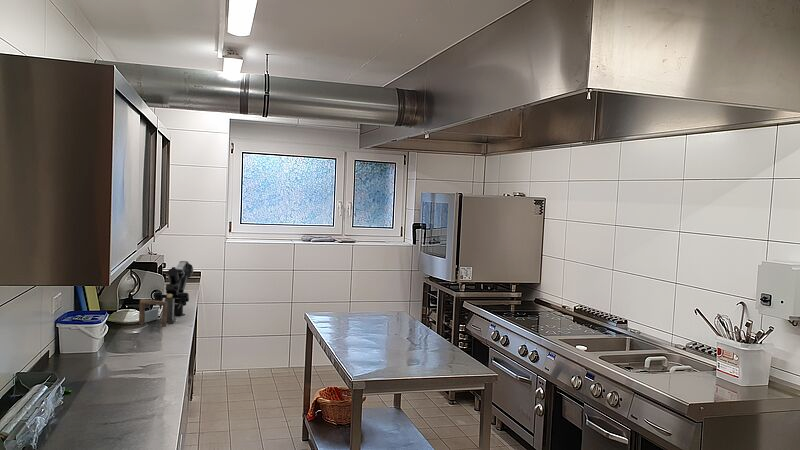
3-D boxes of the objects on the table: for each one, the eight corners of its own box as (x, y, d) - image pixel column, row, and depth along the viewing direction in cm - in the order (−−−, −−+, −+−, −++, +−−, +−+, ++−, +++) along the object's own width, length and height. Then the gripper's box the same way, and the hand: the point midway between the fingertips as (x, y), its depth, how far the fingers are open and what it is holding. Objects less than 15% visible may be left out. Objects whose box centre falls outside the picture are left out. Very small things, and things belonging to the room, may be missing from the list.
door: (144, 322, 337) (144, 312, 337) (142, 322, 338) (142, 312, 337) (157, 318, 349) (158, 308, 349) (156, 318, 349) (156, 308, 349)
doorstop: (164, 321, 345) (165, 292, 344) (175, 321, 345) (176, 292, 345) (162, 323, 339) (162, 294, 338) (173, 323, 339) (174, 294, 339)
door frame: (141, 323, 337) (142, 299, 336) (166, 326, 333) (167, 301, 333) (139, 324, 335) (139, 299, 334) (164, 326, 331) (165, 302, 331)
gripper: (154, 277, 344) (149, 300, 333) (188, 278, 346) (184, 301, 336) (158, 289, 352) (152, 311, 341) (191, 290, 354) (186, 312, 344)
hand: (168, 309), depth 340 cm, fingers open, 9 cm apart
